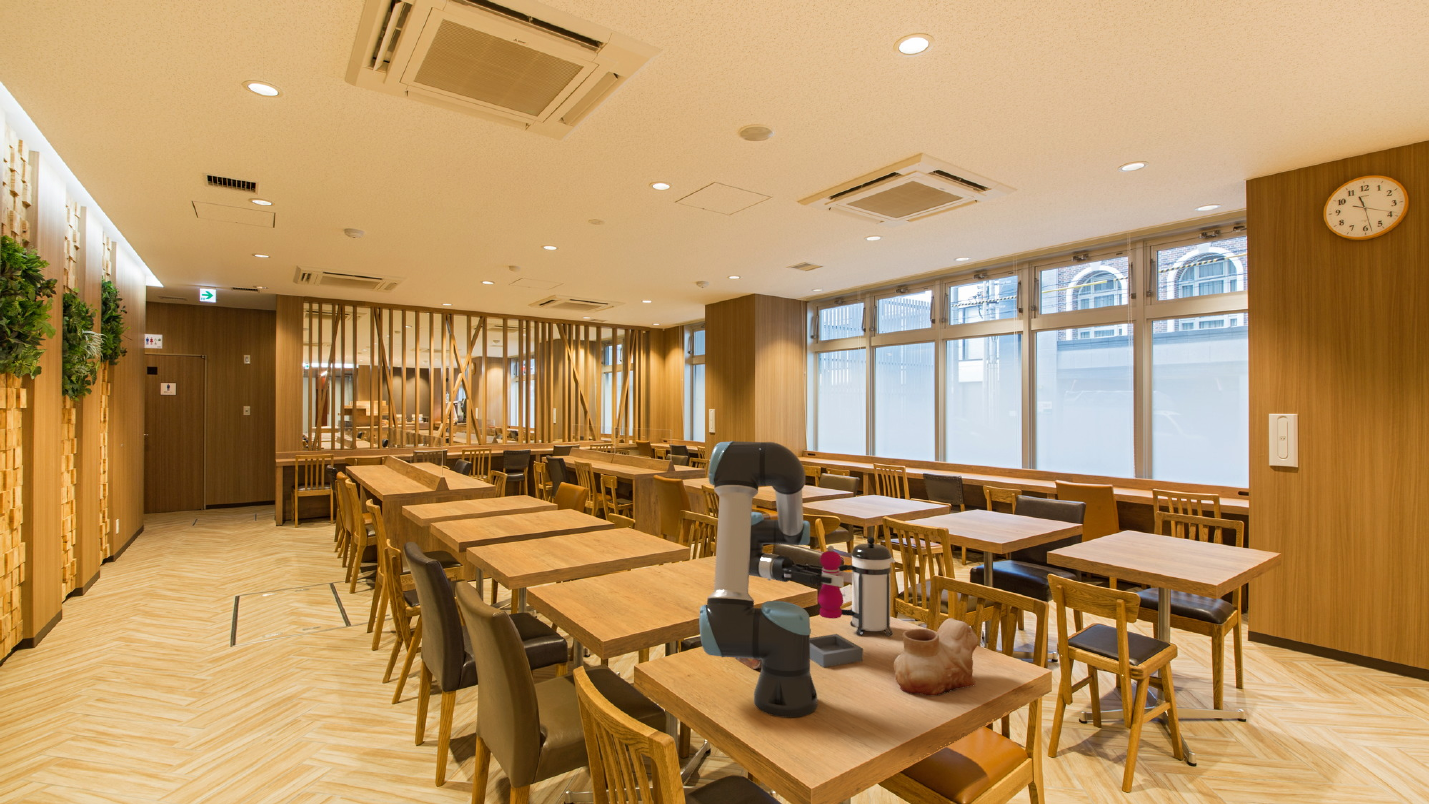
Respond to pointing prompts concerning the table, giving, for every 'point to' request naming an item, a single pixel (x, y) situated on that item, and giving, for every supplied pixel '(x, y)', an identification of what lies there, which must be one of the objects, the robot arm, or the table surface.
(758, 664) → the tin
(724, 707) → the table surface
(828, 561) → the pepper mill
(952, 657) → the ceramic vessel
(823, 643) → the charcoal tray
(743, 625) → the robot arm
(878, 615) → the coffee press
